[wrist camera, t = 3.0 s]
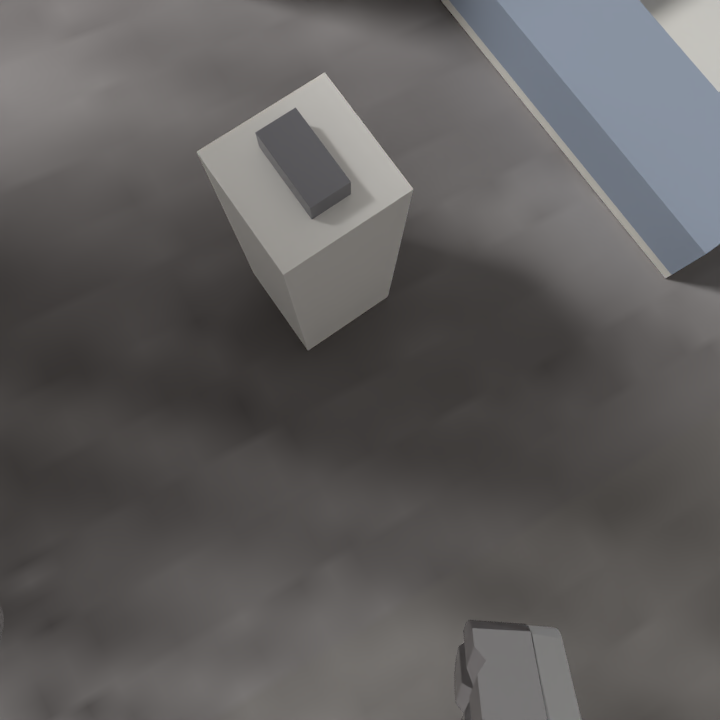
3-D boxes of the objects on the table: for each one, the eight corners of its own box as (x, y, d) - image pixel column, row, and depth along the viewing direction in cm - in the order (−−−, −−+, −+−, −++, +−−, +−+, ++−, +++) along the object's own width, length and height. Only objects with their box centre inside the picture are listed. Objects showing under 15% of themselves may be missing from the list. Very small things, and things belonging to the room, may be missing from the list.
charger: (253, 273, 26) (189, 137, 15) (332, 221, 26) (324, 55, 16) (307, 350, 25) (280, 266, 15) (388, 296, 26) (416, 176, 15)
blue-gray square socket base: (439, -2, 28) (450, -57, 25) (705, -166, 30) (744, -235, 27) (665, 278, 26) (705, 254, 23) (936, 83, 28) (1006, 37, 25)
